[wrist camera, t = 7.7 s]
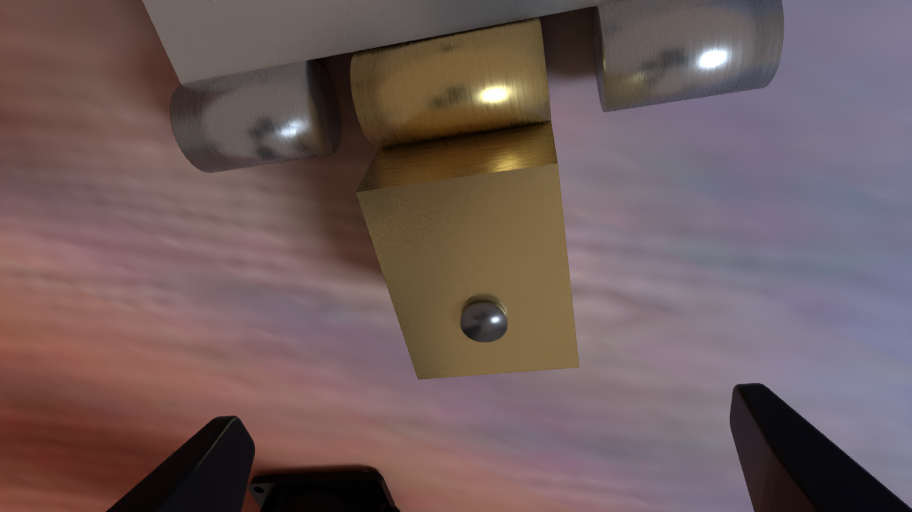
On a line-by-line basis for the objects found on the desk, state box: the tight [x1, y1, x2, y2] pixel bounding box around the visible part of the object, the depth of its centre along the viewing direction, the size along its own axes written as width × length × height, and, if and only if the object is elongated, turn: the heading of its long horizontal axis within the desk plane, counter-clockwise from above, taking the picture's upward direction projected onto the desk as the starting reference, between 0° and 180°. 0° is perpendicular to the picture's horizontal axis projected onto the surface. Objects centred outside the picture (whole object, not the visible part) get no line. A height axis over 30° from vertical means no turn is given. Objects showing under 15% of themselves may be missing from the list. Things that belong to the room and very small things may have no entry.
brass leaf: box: [350, 17, 579, 379], centre depth 14 cm, size 4×8×4 cm, turn 11°
